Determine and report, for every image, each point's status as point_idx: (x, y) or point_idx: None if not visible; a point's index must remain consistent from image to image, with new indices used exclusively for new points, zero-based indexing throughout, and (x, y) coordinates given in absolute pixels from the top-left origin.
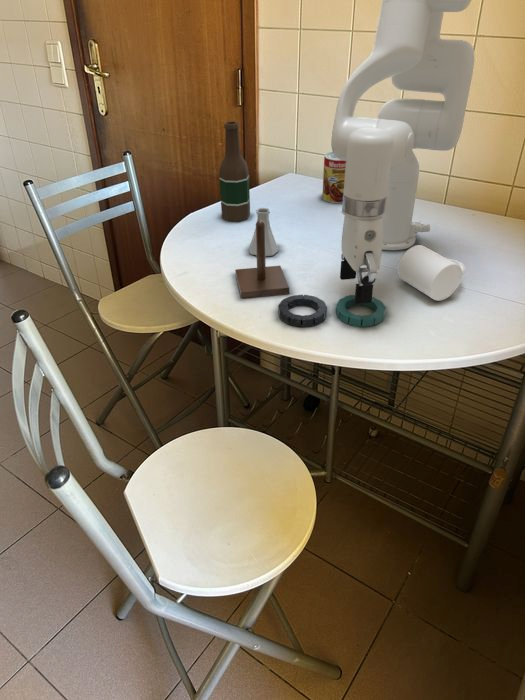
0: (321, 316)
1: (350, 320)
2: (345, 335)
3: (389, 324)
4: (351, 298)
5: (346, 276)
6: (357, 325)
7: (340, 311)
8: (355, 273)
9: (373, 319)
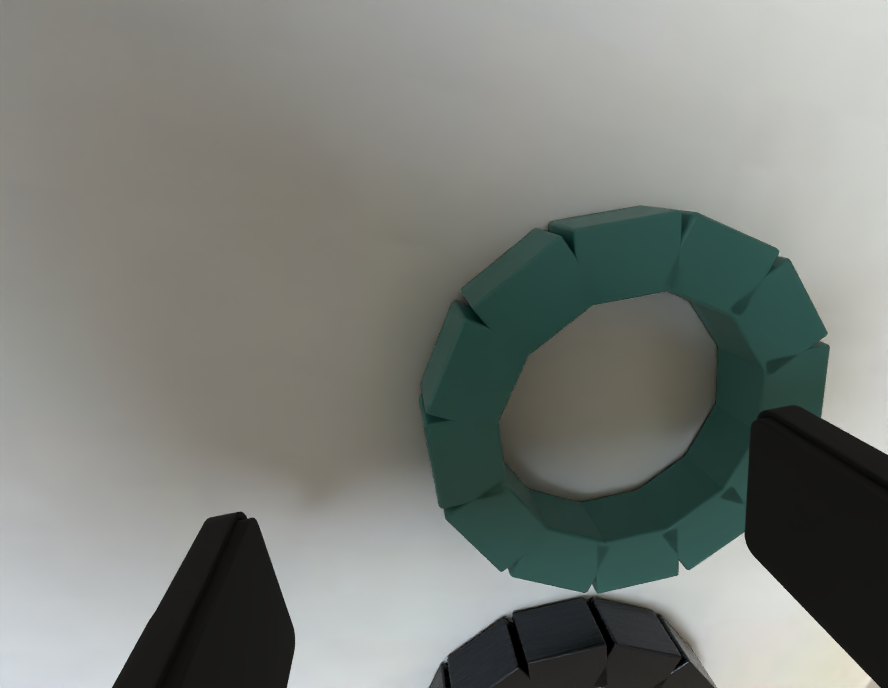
0: (693, 662)
1: None
2: None
3: (785, 193)
4: (498, 491)
5: (275, 628)
6: None
7: (673, 568)
8: (231, 565)
9: (824, 346)
